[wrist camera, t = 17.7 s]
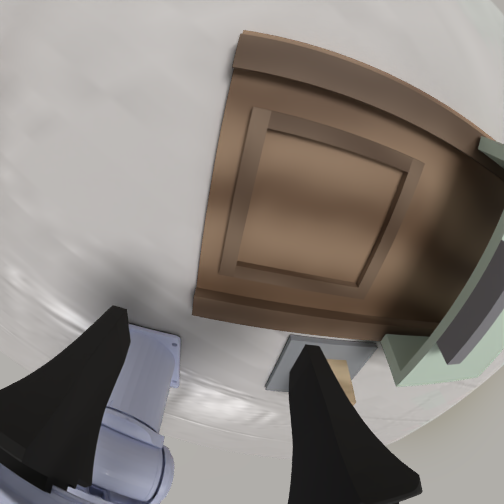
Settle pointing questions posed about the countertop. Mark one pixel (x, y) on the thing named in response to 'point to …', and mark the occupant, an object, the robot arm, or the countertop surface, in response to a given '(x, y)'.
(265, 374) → the countertop surface
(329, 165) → the puzzle board
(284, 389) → the mat
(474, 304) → the cover
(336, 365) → the block
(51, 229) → the countertop surface
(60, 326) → the countertop surface
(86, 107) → the countertop surface
